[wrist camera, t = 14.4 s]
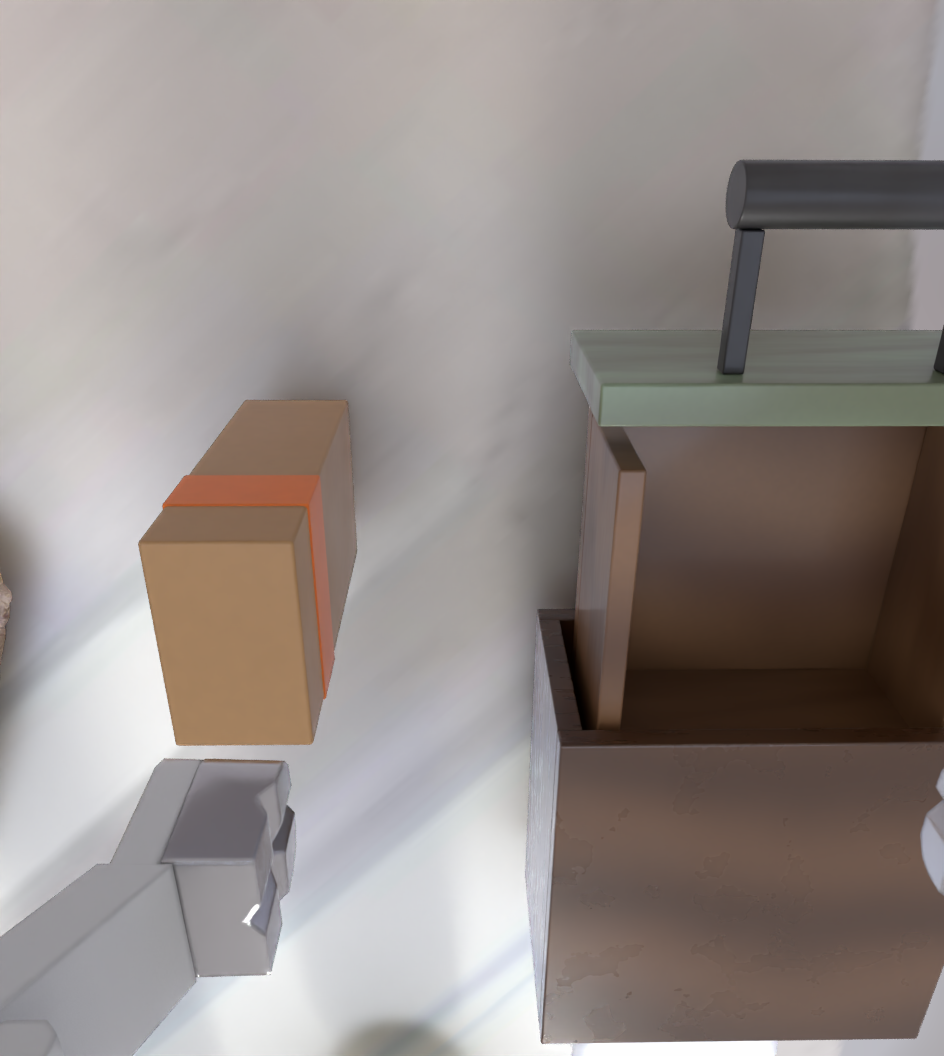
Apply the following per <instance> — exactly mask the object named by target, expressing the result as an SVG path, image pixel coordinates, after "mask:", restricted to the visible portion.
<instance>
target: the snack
mask: <svg viewBox="0 0 944 1056" xmlns="http://www.w3.org/2000/svg"><path fill="white" fill-rule="evenodd" d="M162 507H163V510H162V512H161V513H160V514H159V516H158V517H157V518H156V520H155V521H154V522H153V524H152V525H151V526H150V528H149V529H148V530H147V532H146V533H145V534H144V536H143V537H142V538H141V540H140V541H139V544H138V545H139V551H140V556H141V561H142V567H143V572H144V577H145V582H146V588H147V593H148V598H149V604H150V609H151V614H152V619H153V625H154V630H155V635H156V640H157V646H158V651H159V656H160V662H161V667H162V672H163V677H164V683H165V688H166V693H167V699H168V704H169V709H170V714H171V720H172V725H173V730H174V736H175V741H176V744H177V745H179V746H191V745H310V744H312V743H313V741H314V737H315V733H316V728H317V724H318V720H319V715H320V711H321V706H322V702H323V699H325V698H326V695H327V691H328V687H329V682H330V678H331V673H332V669H333V664H334V660H335V656H334V650H335V645H336V641H337V637H338V632H339V628H340V624H341V619H342V615H343V611H344V606H345V602H346V597H347V593H348V589H349V584H350V580H351V576H352V571H353V567H354V563H355V558H356V554H357V540H356V523H355V507H354V491H353V475H352V459H351V442H350V426H349V410H348V402H347V401H346V400H246V401H244V403H243V404H242V405H241V407H240V408H239V409H238V411H237V412H236V413H235V415H234V416H233V417H232V419H231V420H230V421H229V423H228V424H227V425H226V427H225V428H224V429H223V431H222V432H221V433H220V435H219V436H218V437H217V439H216V440H215V441H214V442H213V444H212V445H211V446H210V448H209V449H208V450H207V452H206V453H205V454H204V456H203V457H202V458H201V460H200V461H199V462H198V464H197V465H196V466H195V468H194V469H193V470H192V472H191V473H190V474H189V475H186V476H184V477H183V478H182V480H181V481H180V482H179V484H178V485H177V486H176V488H175V489H174V490H173V492H172V493H171V494H170V496H169V497H168V498H167V499H166V501H165V502H164V503H163V506H162Z"/></svg>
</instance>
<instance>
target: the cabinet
mask: <svg viewBox="0 0 944 1056" xmlns="http://www.w3.org/2000/svg"><path fill="white" fill-rule="evenodd" d="M574 621H575V609H538V610H537V626H536V648H535V670H534V692H533V714H532V736H531V758H530V780H529V803H528V825H527V847H526V869H525V878H526V887H527V900H528V910H529V921H530V932H531V943H532V953H533V964H534V975H535V986H536V997H537V1007H538V1018H539V1028H540V1039H541V1043H542V1044H581V1043H649V1042H717V1041H784V1040H852V1039H915V1038H917V1036H918V1033H919V1031H920V1028H921V1025H922V1023H923V1020H924V1017H925V1015H926V1012H927V1009H928V1007H929V1004H930V1001H931V998H932V996H933V993H934V990H935V988H936V985H937V982H938V979H939V977H940V974H941V972H942V969H943V966H944V895H942V894H941V893H939V892H938V890H937V889H936V887H935V885H934V883H933V882H932V880H931V878H930V877H929V875H928V873H927V870H926V867H925V864H924V861H923V858H922V852H921V839H920V832H921V829H922V825H923V822H924V819H925V815H926V813H927V812H928V811H930V810H931V809H932V808H933V807H935V806H936V805H937V804H938V803H940V802H941V801H942V800H943V799H942V797H941V796H940V794H939V792H938V790H937V789H936V787H935V786H936V783H937V780H938V778H939V775H940V772H941V770H942V769H944V727H935V728H809V729H683V730H582V726H581V721H580V716H579V712H578V707H577V702H576V697H575V692H574V688H573V682H572V677H571V665H572V650H573V635H574Z"/></svg>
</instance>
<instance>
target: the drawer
mask: <svg viewBox="0 0 944 1056" xmlns="http://www.w3.org/2000/svg"><path fill="white" fill-rule="evenodd" d="M726 217H727V222H728V224H729V226H730V227H731V228H733V229H736V231H735V238H734V246H733V253H732V261H731V268H730V275H729V283H728V290H727V298H726V305H725V313H724V320H723V327H722V330H573V331H572V333H571V347H570V366H571V368H572V370H573V372H574V374H575V376H576V379H577V381H578V383H579V385H580V387H581V389H582V391H583V394H584V396H585V398H586V400H587V402H588V404H589V406H590V408H589V416H588V430H587V445H586V460H585V474H584V489H583V504H582V518H581V533H580V548H579V562H578V577H577V591H576V606H575V621H574V635H573V650H572V665H571V677H572V682H573V688H574V692H575V697H576V702H577V707H578V712H579V716H580V721H581V726H582V730H683V729H809V728H935V727H944V326H943V330H750V329H751V322H752V316H753V309H754V302H755V295H756V289H757V282H758V275H759V269H760V262H761V255H762V249H763V242H764V235H765V231H764V230H762V229H943V230H944V161H920V160H739V161H738V162H736V164H735V165H734V167H733V169H732V172H731V175H730V178H729V182H728V187H727V193H726Z"/></svg>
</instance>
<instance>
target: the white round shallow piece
mask: <svg viewBox="0 0 944 1056" xmlns="http://www.w3.org/2000/svg"><path fill="white" fill-rule="evenodd" d="M571 1047H572V1054H571V1055H572V1056H776V1053H777V1041H717V1042H649V1043H581V1044H571Z"/></svg>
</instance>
